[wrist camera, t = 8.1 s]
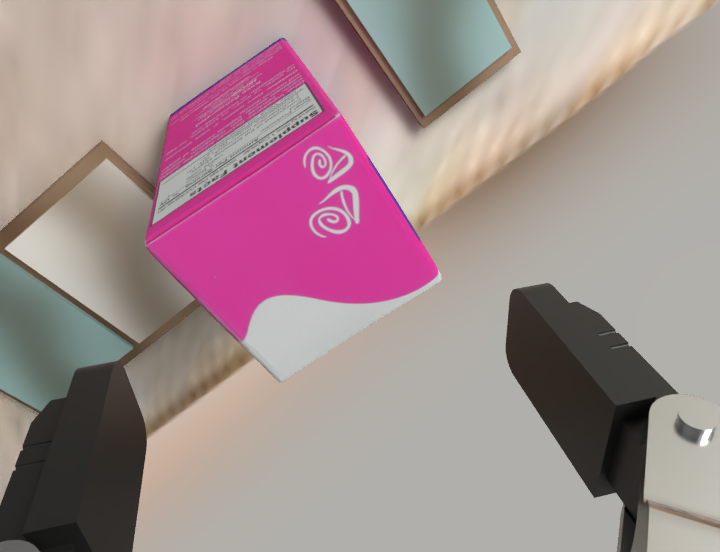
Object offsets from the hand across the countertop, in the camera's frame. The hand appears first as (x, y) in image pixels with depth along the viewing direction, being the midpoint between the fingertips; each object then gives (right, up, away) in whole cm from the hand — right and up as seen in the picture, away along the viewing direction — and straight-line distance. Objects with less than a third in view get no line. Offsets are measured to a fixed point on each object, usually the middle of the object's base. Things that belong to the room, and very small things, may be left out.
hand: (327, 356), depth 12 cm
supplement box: (-3, +8, +12) cm, 15 cm away
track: (-6, +5, +13) cm, 15 cm away
